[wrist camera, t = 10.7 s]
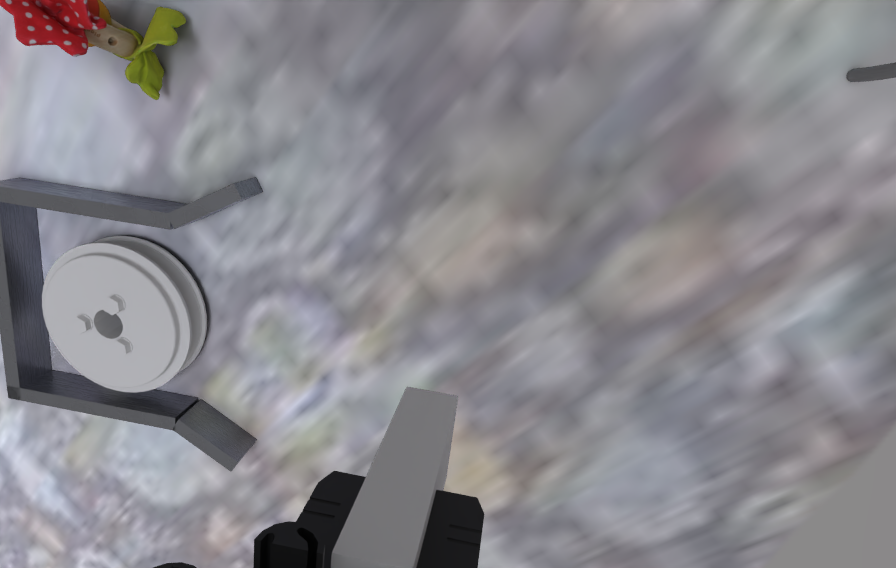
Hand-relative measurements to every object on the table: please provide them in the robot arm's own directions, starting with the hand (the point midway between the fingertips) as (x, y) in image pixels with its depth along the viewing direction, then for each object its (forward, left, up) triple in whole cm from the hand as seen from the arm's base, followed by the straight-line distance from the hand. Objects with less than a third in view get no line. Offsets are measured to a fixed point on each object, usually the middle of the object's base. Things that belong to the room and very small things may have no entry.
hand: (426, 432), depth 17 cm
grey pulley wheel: (+11, -29, -29) cm, 42 cm away
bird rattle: (-10, -28, -29) cm, 41 cm away
